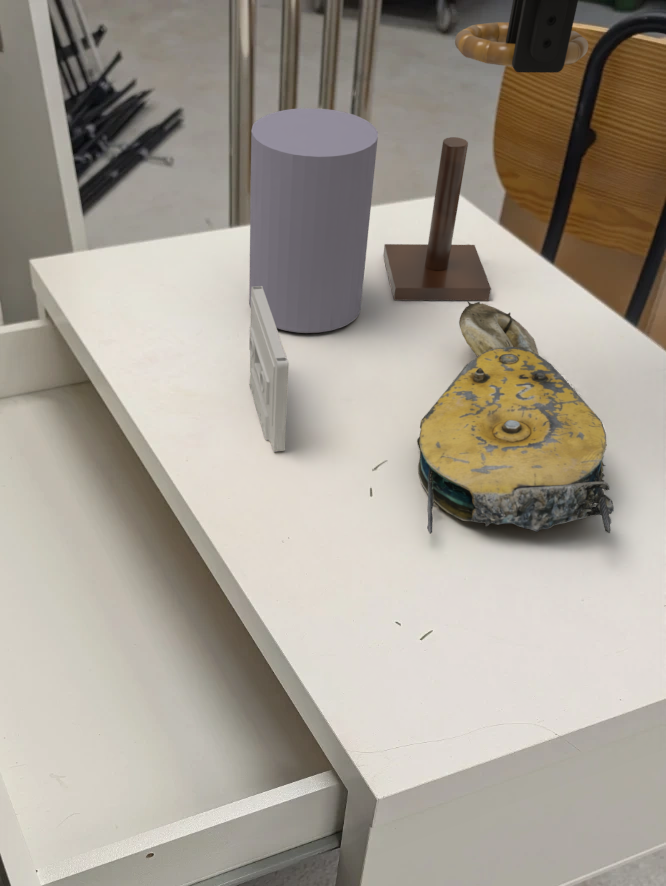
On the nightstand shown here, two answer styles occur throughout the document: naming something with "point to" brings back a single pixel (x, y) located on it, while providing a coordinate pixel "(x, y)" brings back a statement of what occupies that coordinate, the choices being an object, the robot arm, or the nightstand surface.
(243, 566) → the nightstand surface
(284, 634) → the nightstand surface
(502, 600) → the nightstand surface
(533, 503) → the pulley block
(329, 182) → the container
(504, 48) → the ring
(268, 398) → the cassette
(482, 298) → the peg stand
